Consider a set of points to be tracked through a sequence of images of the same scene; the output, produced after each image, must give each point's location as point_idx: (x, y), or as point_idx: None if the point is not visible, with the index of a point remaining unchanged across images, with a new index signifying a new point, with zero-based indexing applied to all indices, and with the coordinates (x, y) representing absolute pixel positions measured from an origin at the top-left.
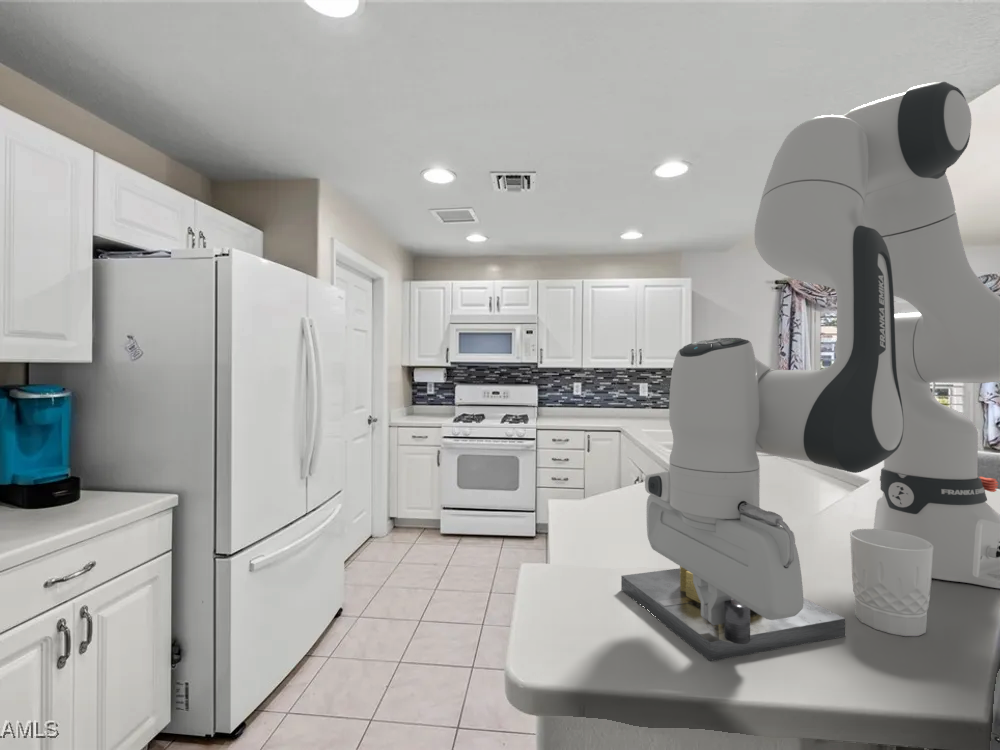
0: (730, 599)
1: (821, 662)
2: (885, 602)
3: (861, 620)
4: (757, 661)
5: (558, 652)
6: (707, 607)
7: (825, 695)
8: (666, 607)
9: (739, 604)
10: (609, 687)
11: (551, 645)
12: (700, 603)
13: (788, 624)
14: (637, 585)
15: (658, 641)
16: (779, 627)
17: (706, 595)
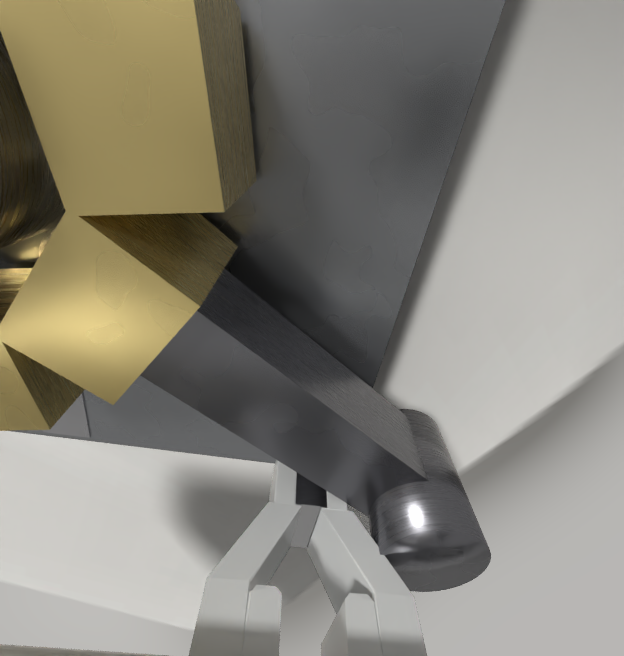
0: (386, 562)
1: (563, 131)
2: None
3: None
4: (409, 329)
5: (182, 590)
6: (308, 543)
7: (615, 312)
8: (99, 436)
9: (436, 555)
10: (309, 582)
11: (155, 589)
12: None
13: (432, 96)
14: None
15: (208, 458)
16: (420, 182)
17: (274, 563)
